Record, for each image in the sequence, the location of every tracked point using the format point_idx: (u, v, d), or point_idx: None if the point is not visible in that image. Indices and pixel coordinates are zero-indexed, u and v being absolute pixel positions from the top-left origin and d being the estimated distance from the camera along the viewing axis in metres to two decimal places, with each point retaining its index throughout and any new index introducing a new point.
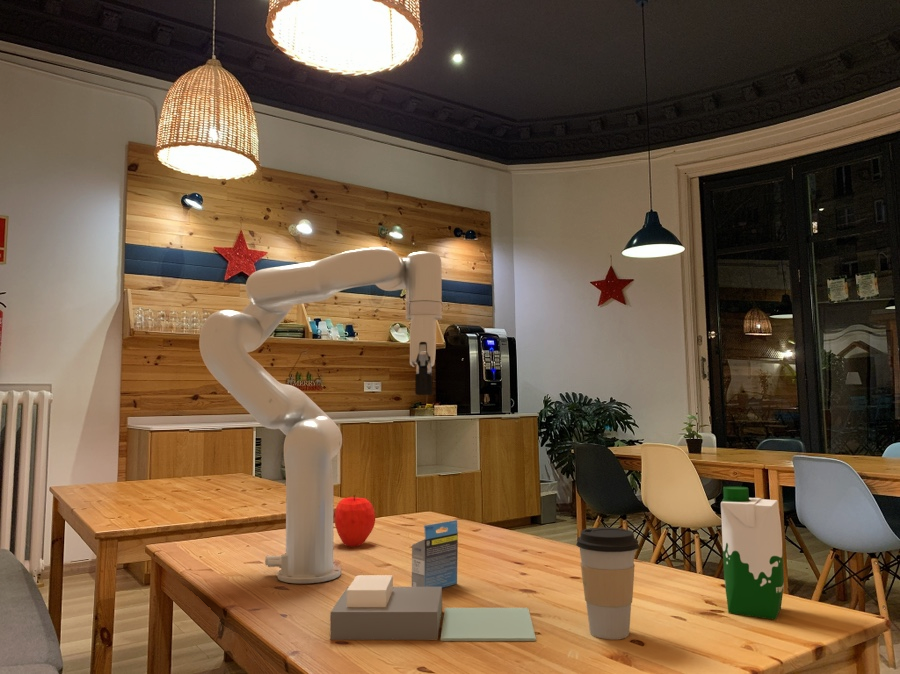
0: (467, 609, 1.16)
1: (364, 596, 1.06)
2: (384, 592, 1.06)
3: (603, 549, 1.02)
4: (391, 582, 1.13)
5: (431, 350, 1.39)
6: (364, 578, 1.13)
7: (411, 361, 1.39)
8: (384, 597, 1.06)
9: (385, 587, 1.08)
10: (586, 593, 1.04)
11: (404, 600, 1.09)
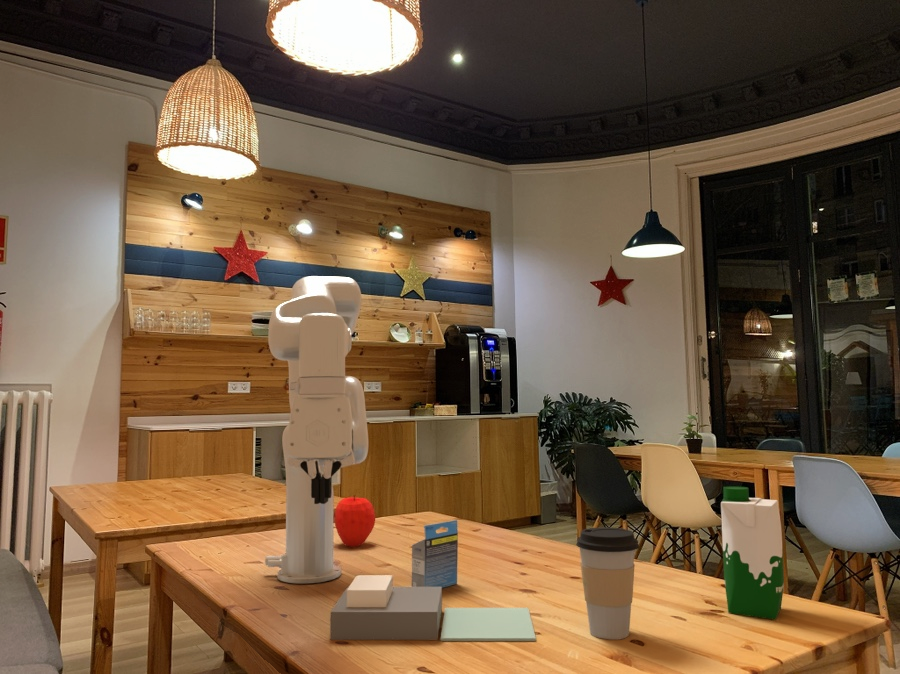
0: (467, 609, 1.16)
1: (364, 596, 1.06)
2: (384, 592, 1.06)
3: (603, 549, 1.02)
4: (391, 582, 1.13)
5: None
6: (364, 578, 1.13)
7: (347, 454, 1.10)
8: (384, 597, 1.06)
9: (385, 587, 1.08)
10: (586, 593, 1.04)
11: (404, 600, 1.09)
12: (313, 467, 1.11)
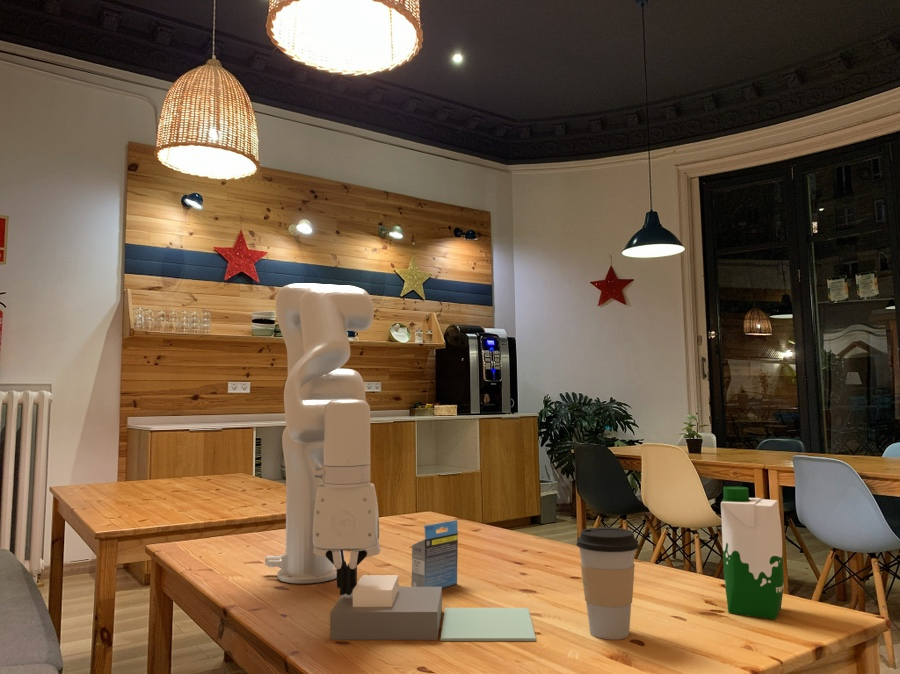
0: (467, 609, 1.16)
1: (370, 595, 1.06)
2: (390, 592, 1.06)
3: (603, 549, 1.02)
4: (397, 582, 1.13)
5: None
6: (370, 578, 1.13)
7: (373, 545, 1.09)
8: (390, 597, 1.06)
9: (391, 587, 1.08)
10: (586, 593, 1.04)
11: (404, 600, 1.09)
12: (339, 557, 1.10)
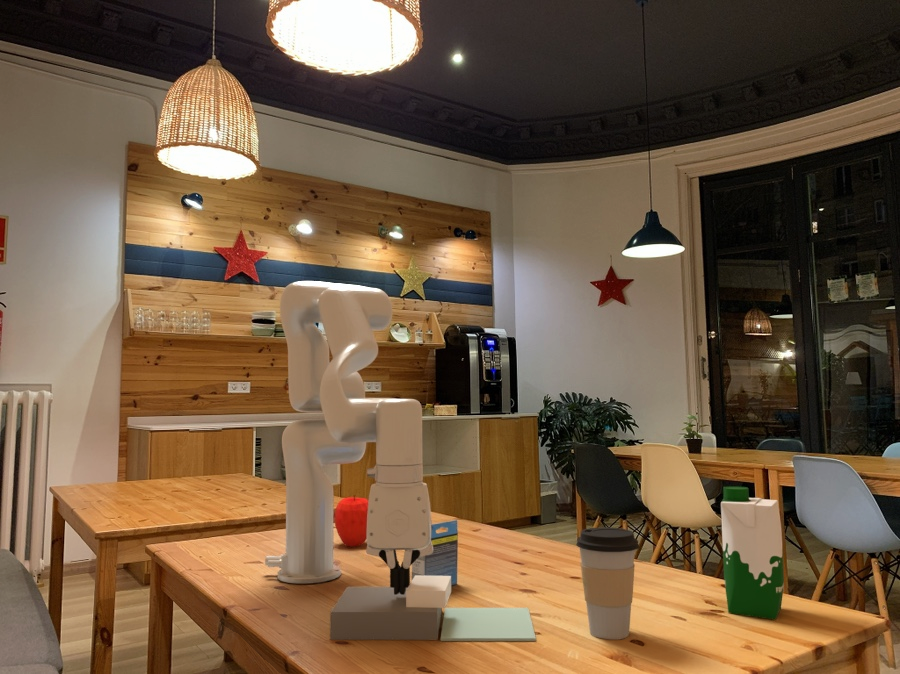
0: (467, 609, 1.16)
1: (424, 596, 1.06)
2: (443, 593, 1.05)
3: (603, 549, 1.02)
4: (450, 583, 1.13)
5: None
6: (422, 578, 1.13)
7: (428, 544, 1.09)
8: (443, 598, 1.05)
9: (444, 588, 1.07)
10: (586, 593, 1.04)
11: (404, 600, 1.09)
12: (392, 557, 1.10)
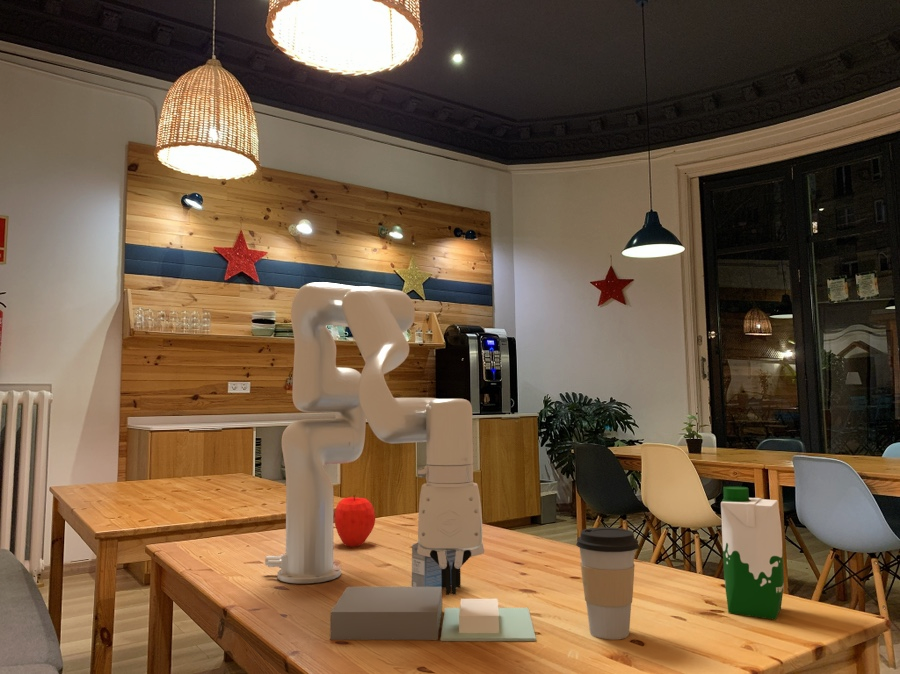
0: None
1: (480, 626, 1.05)
2: (460, 630, 1.05)
3: (603, 549, 1.02)
4: None
5: None
6: None
7: (480, 544, 1.08)
8: (460, 625, 1.05)
9: None
10: (586, 593, 1.04)
11: (404, 600, 1.09)
12: (444, 557, 1.09)
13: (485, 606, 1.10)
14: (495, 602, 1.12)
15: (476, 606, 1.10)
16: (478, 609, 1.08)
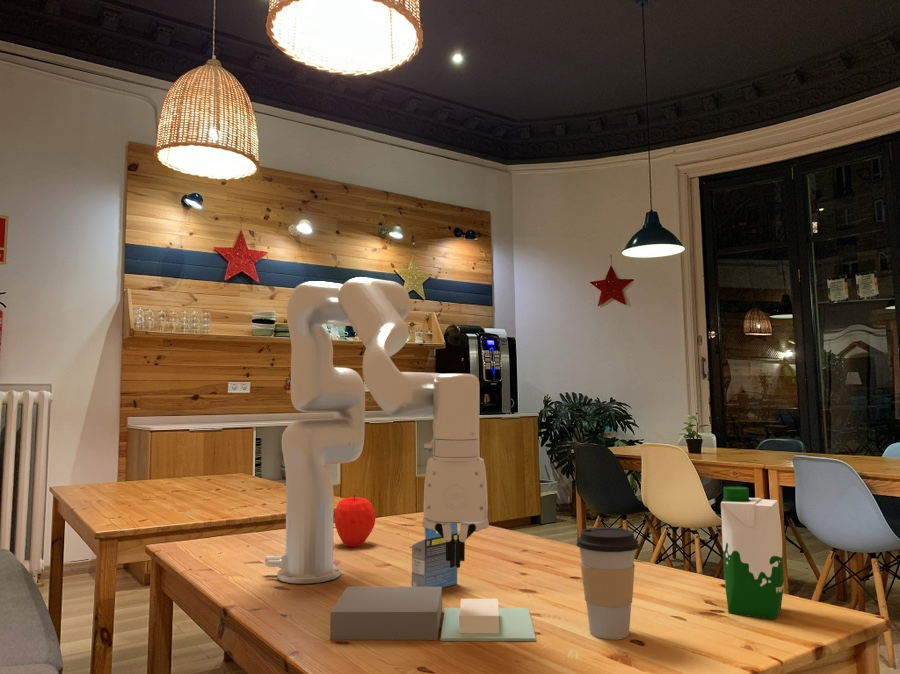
0: None
1: (480, 626, 1.05)
2: (460, 630, 1.05)
3: (603, 549, 1.02)
4: None
5: None
6: None
7: (485, 518, 1.09)
8: (460, 625, 1.05)
9: None
10: (586, 593, 1.04)
11: (404, 600, 1.09)
12: (448, 530, 1.10)
13: (485, 606, 1.10)
14: (495, 602, 1.12)
15: (476, 606, 1.10)
16: (478, 609, 1.08)
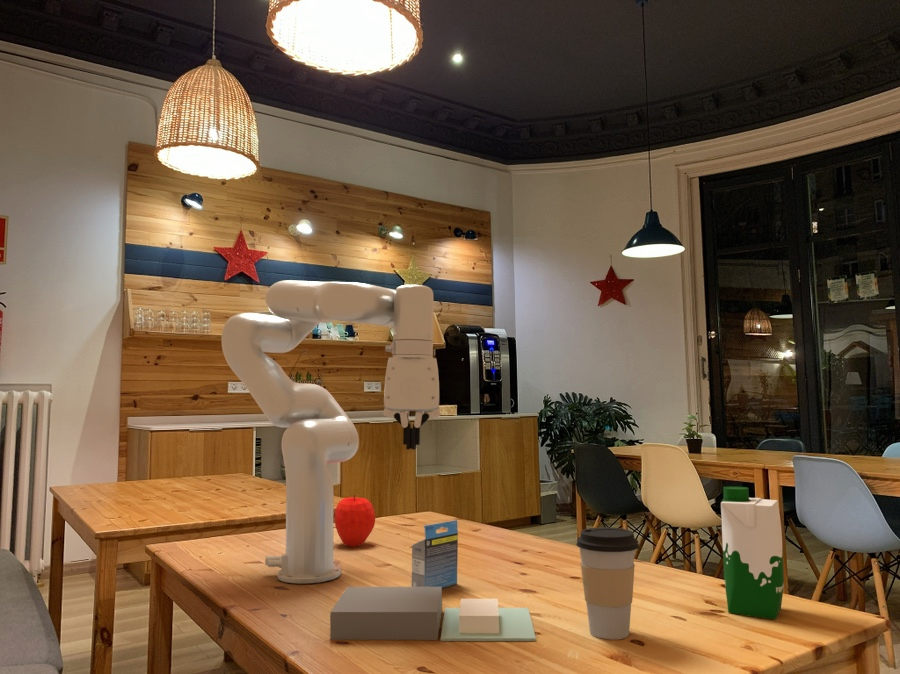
0: None
1: (480, 626, 1.05)
2: (460, 630, 1.05)
3: (603, 549, 1.02)
4: None
5: None
6: None
7: (436, 407, 1.28)
8: (460, 625, 1.05)
9: None
10: (586, 593, 1.04)
11: (404, 600, 1.09)
12: (405, 418, 1.29)
13: (485, 606, 1.10)
14: (495, 602, 1.12)
15: (476, 606, 1.10)
16: (478, 609, 1.08)
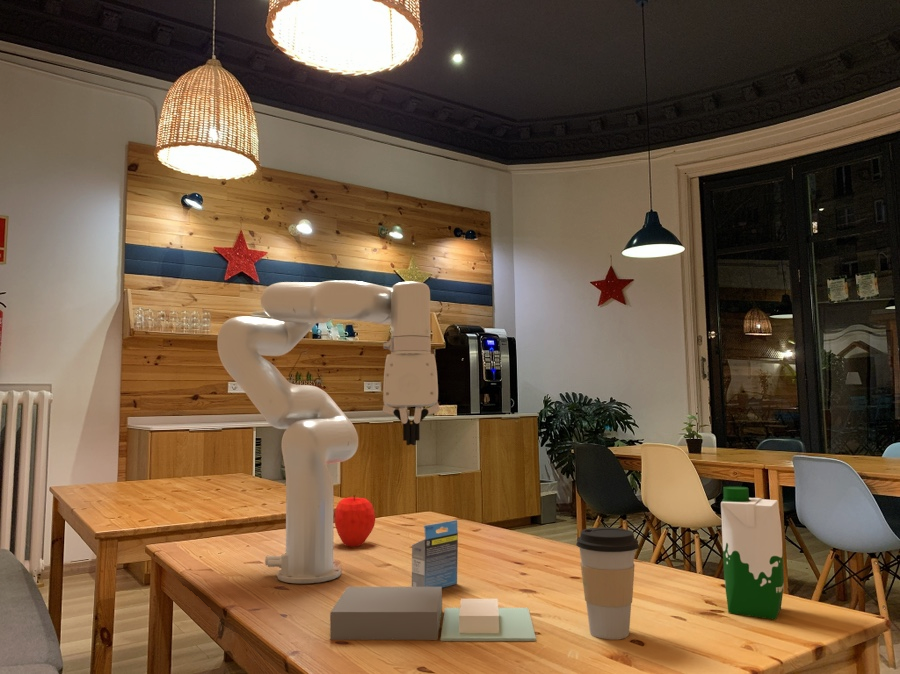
0: None
1: (480, 626, 1.05)
2: (460, 630, 1.05)
3: (603, 549, 1.02)
4: None
5: None
6: None
7: (435, 402, 1.29)
8: (460, 625, 1.05)
9: None
10: (586, 593, 1.04)
11: (404, 600, 1.09)
12: (405, 414, 1.30)
13: (485, 606, 1.10)
14: (495, 602, 1.12)
15: (476, 606, 1.10)
16: (478, 609, 1.08)
